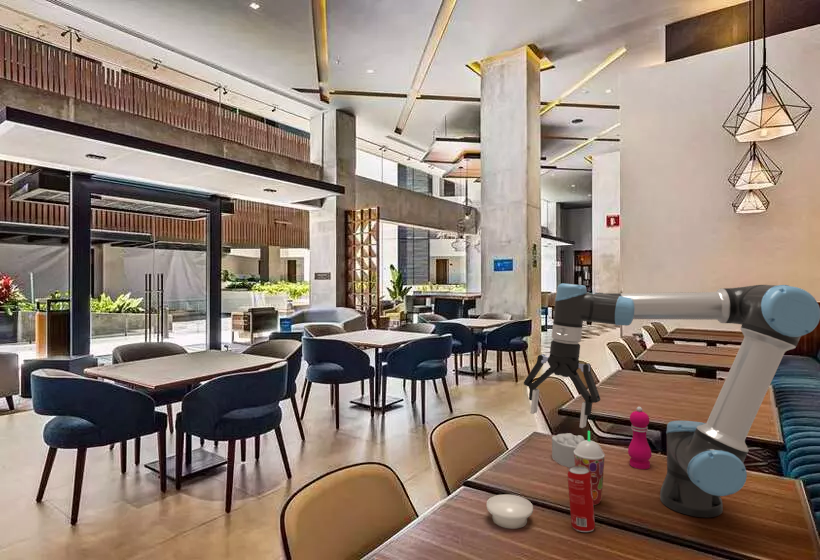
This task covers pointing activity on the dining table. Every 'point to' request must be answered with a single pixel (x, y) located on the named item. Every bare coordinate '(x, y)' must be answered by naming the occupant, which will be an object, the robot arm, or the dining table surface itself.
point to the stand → (509, 510)
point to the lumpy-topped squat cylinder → (565, 448)
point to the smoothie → (591, 464)
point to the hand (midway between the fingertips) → (557, 419)
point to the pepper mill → (639, 440)
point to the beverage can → (581, 499)
